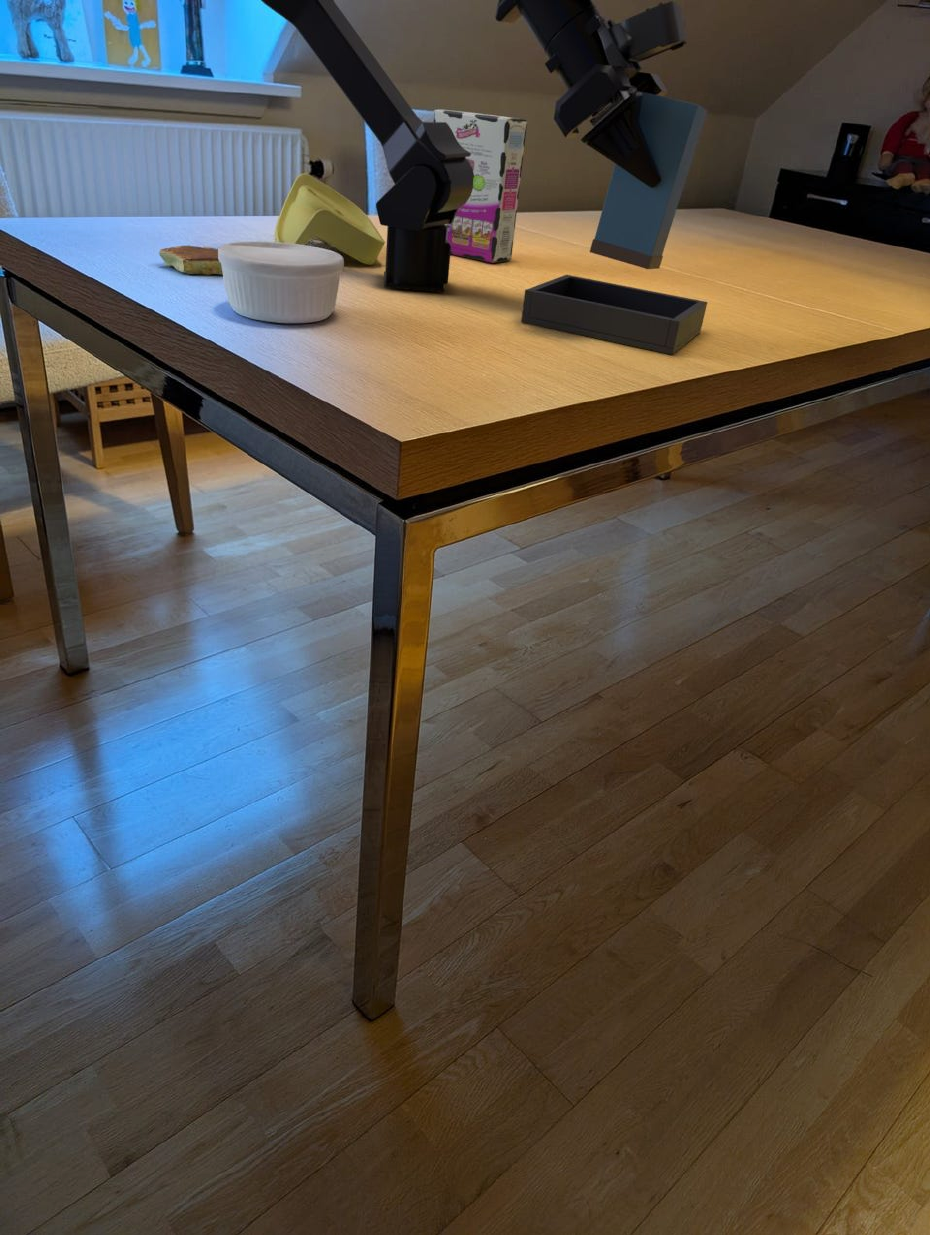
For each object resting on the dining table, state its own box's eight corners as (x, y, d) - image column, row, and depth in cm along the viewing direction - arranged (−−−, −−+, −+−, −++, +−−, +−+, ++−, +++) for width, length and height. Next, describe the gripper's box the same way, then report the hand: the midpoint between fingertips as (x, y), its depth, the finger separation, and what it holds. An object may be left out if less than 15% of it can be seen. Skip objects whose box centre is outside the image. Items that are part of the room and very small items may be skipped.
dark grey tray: (520, 322, 88) (524, 289, 86) (561, 303, 97) (566, 274, 95) (672, 355, 83) (679, 321, 81) (700, 332, 92) (707, 302, 90)
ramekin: (296, 293, 88) (296, 237, 86) (367, 320, 82) (369, 261, 79) (196, 303, 81) (192, 242, 79) (265, 333, 75) (264, 268, 72)
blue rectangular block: (589, 252, 86) (633, 89, 80) (602, 252, 90) (646, 96, 83) (648, 269, 84) (699, 104, 78) (659, 268, 88) (708, 111, 81)
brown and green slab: (282, 277, 94) (282, 259, 93) (236, 287, 88) (235, 268, 87) (201, 259, 98) (200, 242, 97) (152, 268, 92) (150, 249, 91)
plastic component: (388, 247, 102) (311, 200, 97) (358, 303, 105) (282, 261, 100) (361, 206, 117) (293, 164, 112) (335, 257, 120) (267, 218, 115)
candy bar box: (513, 261, 116) (530, 119, 108) (493, 264, 113) (509, 118, 104) (443, 245, 121) (455, 108, 113) (422, 248, 118) (432, 107, 109)
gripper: (617, -58, 68) (721, 122, 71) (667, -26, 83) (752, 122, 86) (509, 50, 75) (609, 212, 77) (574, 62, 90) (655, 198, 92)
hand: (661, 183), depth 83 cm, fingers closed on blue rectangular block, 4 cm apart
